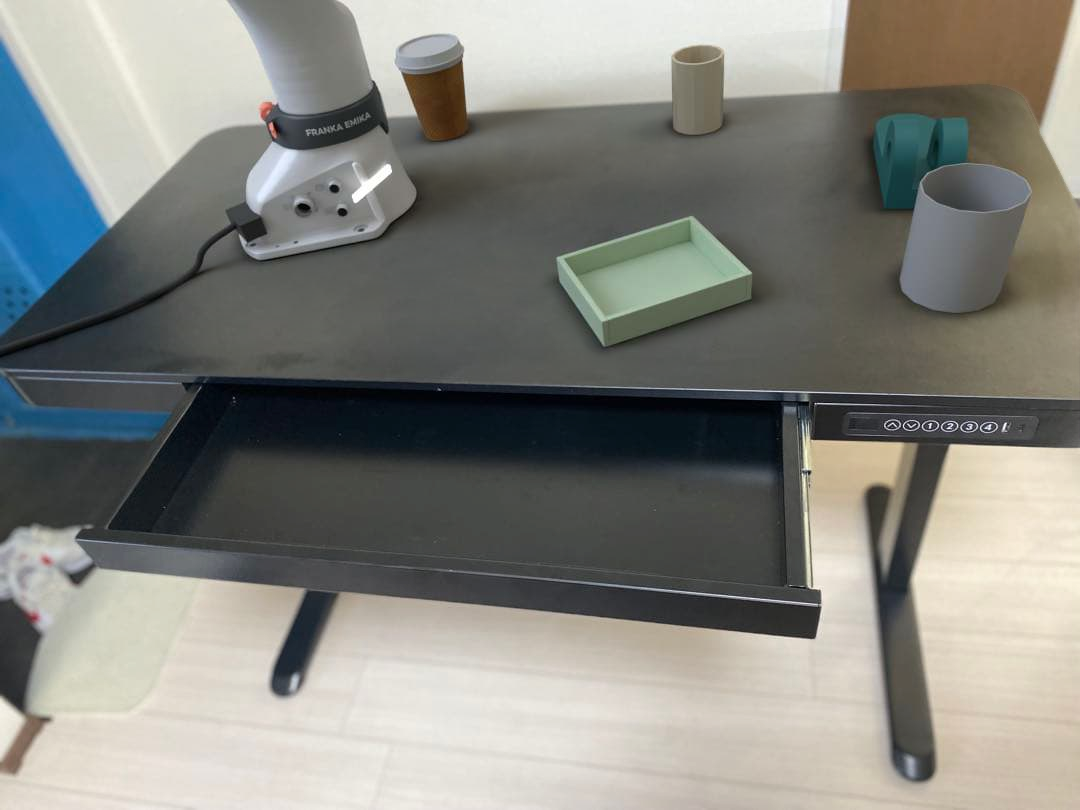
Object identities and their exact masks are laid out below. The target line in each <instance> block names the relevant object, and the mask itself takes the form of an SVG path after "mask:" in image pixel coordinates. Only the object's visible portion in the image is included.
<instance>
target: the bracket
mask: <svg viewBox="0 0 1080 810" xmlns="http://www.w3.org/2000/svg"><path fill="white" fill-rule="evenodd" d="M872 142H873V143H872V146H873V147H872V148H873V153H874V158H875V164H876V169H877V175H878V180H879V185H880V192H881V196H882V202H883V208H884V210H914V208H915V203H916V199H917V194H918V189H919V184H920V182H921V181H922V179H923V178H924V177H925V175H926V174H927V173H928V172H931V171H933V170H935V169H938V168H940V167H942V166H947V165H955V164H962V163H967V158H968V151H969V150H968V149H969V125H968V121H967V118H966V117H941V118H940V117H939V118H937V119H934V118H932V117H930V116H928V115H923V114H919V113H908V112H905V113H896V114H891V115H887V116H885V117H882V118H880V119H879V120H878V121H877V122H876V124H875V130H874V135H873V141H872Z"/></svg>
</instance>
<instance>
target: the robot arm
mask: <svg viewBox="0 0 1080 810" xmlns="http://www.w3.org/2000/svg"><path fill="white" fill-rule="evenodd" d="M225 1H226V2H227V4H228V5H229V6H230V7H231V9H233V12H235V14H236V15H237V17H238V18H239V19H240V21H241V23H242V24H243V26H244V27H245V29H246V30H247V32H248V34H249V36H250V38H251V40H252V42H253V44H254V46H255V49H256V51H257V53H258V57H259V58H260V61H261V63H262V66H263V68H264V69H263V70H264V72H265V74H266V76H267V79H268V81H269V84H270V87H271V89H272V92H273V94H274V97H275V100H276V104H275V103H273V102H271V101H263V102H262V103H261V104H260V105H259V106H260V107H259V108H258V109H259V115H260V118H261V120H262V121H263V122H264V123H265V125H266V128H267V131H268V134H269V136H270V139H271V140H272V142H270V144H269V146H268V147H267V148H266V150H265V151H264V153H263V154H262V155H261V156H260V158H259V159H258V161H257V162H256V163H255V165H254V166H253V167H252V168H251V170H250V172H249V174H248V175H247V179H246V183H245V200H246V201H244V202H241V203H239V204H236V205H234V206H231V207H229V208H227V209H224V211H225V214H226V216H227V218H228V220H229V222H230V224H228V225H227V226H226V227H224V228H222V229H221V230H219V231H218V232H217V233H215V234H213V235H212V236H210V238H207V240H206V241H205V242H204V243H203V244H202V246H200V248H199V250H198V251H197V254H196V258H195V262H194V264H193V266H192V267H190V269H189V270H188V271H186V272H185V273H184V274H183V275H182V276H180V277H179V278H177V279H176V280H174V281H172V282H171V283H169V284H167V285H165V286H162V287H160V288H158V289H155V290H153V291H150V292H147V293H144V294H143V295H140V296H138V297H135V298H133V299H130V300H129V301H126V302H124V303H122V304H119V305H117V306H114V307H112V308H108V309H106V310H103V311H100V312H98V313H94V314H92V315H88V316H85V317H82V318H79V319H76V320H74V321H71V322H68V323H64V324H62V325H59V326H56V327H53V328H50V329H48V330H47V329H46V330H44V331H42V332H38V333H36V334H32V335H30V336H29V335H28V336H27V337H23V338H20V339H18V340H14V341H11V342H8V343H5V344H3V345H0V355H1V354H3V353H6V352H11V351H13V350H16V349H18V348H22V347H25V346H29V345H31V344H35V343H36V342H37V343H38V342H40V341H42V340H45V339H48V338H51V337H54V336H58V335H60V334H64V333H65V332H69V331H72V330H74V329H75V330H76V329H77V328H81V327H82V326H86V325H89V324H92V323H95V322H99V321H101V320H104V319H108V318H110V317H113V316H115V315H118V314H120V313H123V312H126V311H128V310H130V309H132V308H135V307H137V306H140V305H142V304H144V303H146V302H148V301H151V300H153V299H156V298H158V297H161V296H163V295H165V294H167V293H169V292H171V291H173V290H174V289H176V288H178V287H179V286H181V285H182V284H184V283H186V282H188V281H189V280H190V279H192V278H193V277H195V275H196V274H197V273H198V272H199V271H200V269H201V267H202V265H203V263H204V258H205V255H206V254H207V251H209V249H210V248H211V247H212V246H213V245H215V244H216V243H217V242H218V241H220V240H221V239H223V238H225V237H226V236H228V235H229V234H231V233H232V232H233V231H236V232H237V233H238V236H239V241H240V243H241V246H242V248H243V250H244V251H245V253H246V254H247V255H248V256H249V257H251V258H252V259H255V260H257V261H265V260H271V259H274V258H280V257H286V256H291V255H296V254H301V253H302V254H303V253H307V252H312V251H317V250H322V249H327V248H332V247H338V246H343V245H348V244H352V243H353V244H354V243H359V242H363V241H364V242H365V241H370V240H374V239H377V238H378V237H381V235H383V233H385V231H386V230H387V229H388V227H389V225H390V224H391V223H393V222H394V221H396V219H398V218H399V217H401V216H402V215H404V214H405V213H407V211H408V210H409V209H410V208H411V207H412V206H413V204H414V203H415V201H416V199H417V194H418V193H417V189H416V186H415V185H414V182H412V180H411V179H410V177H409V175H408V173H407V171H406V170H405V168H404V166H403V164H402V162H401V160H400V158H399V155H398V152H397V151H396V148H395V146H394V143H393V140H392V138H391V136H390V126H389V123H390V122H389V118H388V115H387V110H386V107H385V103H384V99H383V96H382V93H381V90H379V87H378V85H377V82H376V81H375V80H373V78H372V75H371V71H370V68H369V67H370V66H369V64H368V60H367V56H366V53H365V50H364V46H363V43H362V39H361V36H360V32H359V28H358V24H357V20H356V18H355V16H354V13H353V12H352V11H351V9H349V7H348V6H347V5H345V4H344V3H343V2H342V1H339V0H225Z"/></svg>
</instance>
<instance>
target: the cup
mask: <svg viewBox="0 0 1080 810" xmlns="http://www.w3.org/2000/svg"><path fill="white" fill-rule="evenodd" d="M1032 193H1033V190H1032V188H1031V186H1030V184H1029V182H1028V180H1027V179H1025V178H1024V177H1023V176H1021V175H1020V174H1018V173H1016V172H1014V171H1013V170H1011V169H1007V168H1003V167H1000V166H997V165H993V164H986V163H985V164H983V163H971V162H970V163H969V162H966V163H962V164H955V165H947V166H942V167H940V168H938V169H935V170H933V171H931V172H928V173H927V174H926V175H925V177H924V178H923V179H922V181H921V182H920V184H919V189H918V194H917V199H916V203H915V208H914V209H913V214H912V218H911V223H910V228H909V233H908V236H907V237H908V239H907V242H906V247H905V251H904V256H903V261H902V266H901V270H900V276H899V283H900V288H901V292H902V293H903V294H904V295H906V297H908V299H910V300H911V301H912V302H913V303H915V304H917V305H919V306H922V307H925V308H927V309H929V310H932V311H938V312H944V313H952V314H962V313H971V312H978V311H981V310H983V309H985V308H987V307H989V306H991V305H993V304H994V303H995V302H996V300H997V299H998V297H999V295H1000V294H1001V291H1002V289H1003V284H1004V282H1005V278H1006V275H1007V272H1008V269H1009V266H1010V262H1011V259H1012V256H1013V253H1014V250H1015V248H1016V247H1015V246H1016V244H1017V240H1018V238H1019V234H1020V231H1021V228H1022V225H1023V222H1024V219H1025V215H1026V211H1027V209H1028V206H1029V202H1030V199H1031V197H1032Z"/></svg>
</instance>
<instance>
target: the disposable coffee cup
mask: <svg viewBox="0 0 1080 810" xmlns="http://www.w3.org/2000/svg"><path fill="white" fill-rule="evenodd" d="M464 53H465V47H464V45H463V44H461V41H460V39H459V37H458V36H456V35H455V34H451V33H432V34H431V33H430V34H426V35H420V36H417V37H414V38H410V39H409V40H405V42H402V43H401V44H399V45H398V46H397V47H396V48H395V58H394V64H395V66H396V67H397V69H398V70H399V71H400V73H401V76H402V78H403V81H404V84H405V86H406V89H407V92H408V95H409V98H410V100H411V103H412V105H413V108H414V110H415V112H416V116H417V118H418V121H419V123H420V126H421V129H422V131H423V134H424V137H425V138H426V139H428V140H429V141H433V142H435V141H436V142H444V141H450V140H453V139H455V138H458V137H460V136H462V135H464V134H465V133H466V132H467V131H468V128H469V125H468V112H467V99H466V98H467V97H466V88H465V87H466V86H465V75H464V62H463V58H464Z"/></svg>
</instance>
